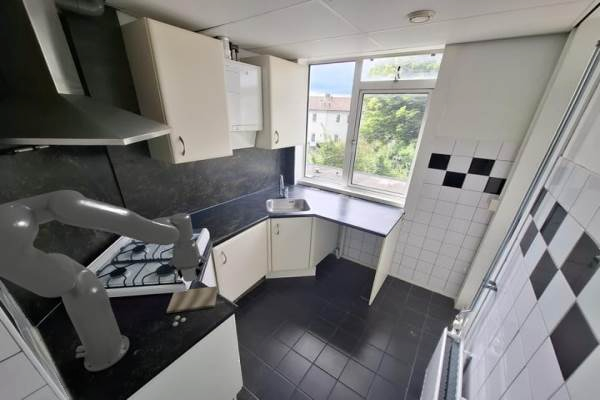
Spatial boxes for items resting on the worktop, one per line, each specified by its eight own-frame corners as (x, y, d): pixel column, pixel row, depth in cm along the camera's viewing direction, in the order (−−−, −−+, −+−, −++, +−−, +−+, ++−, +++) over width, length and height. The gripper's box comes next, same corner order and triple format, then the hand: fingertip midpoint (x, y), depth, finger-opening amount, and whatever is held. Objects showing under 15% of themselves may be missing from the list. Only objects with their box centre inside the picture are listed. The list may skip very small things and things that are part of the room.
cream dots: (171, 326, 92) (171, 326, 92) (175, 316, 96) (175, 316, 96) (184, 324, 93) (184, 324, 93) (187, 314, 98) (187, 314, 97)
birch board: (167, 313, 98) (166, 311, 97) (174, 293, 109) (174, 291, 108) (214, 306, 102) (214, 304, 102) (217, 287, 113) (217, 286, 113)
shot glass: (194, 270, 105) (192, 258, 102) (201, 277, 101) (199, 264, 99) (179, 277, 100) (176, 265, 98) (186, 285, 96) (184, 272, 94)
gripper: (158, 248, 88) (166, 283, 95) (204, 244, 92) (209, 278, 99) (164, 238, 95) (171, 272, 102) (207, 235, 99) (211, 268, 105)
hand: (190, 275), depth 100 cm, fingers closed on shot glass, 6 cm apart
